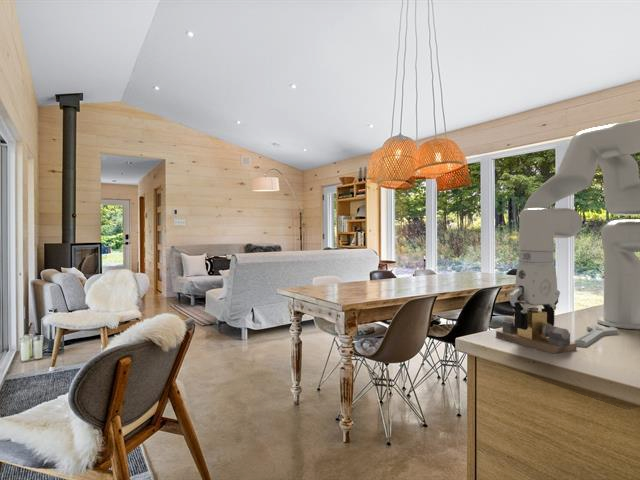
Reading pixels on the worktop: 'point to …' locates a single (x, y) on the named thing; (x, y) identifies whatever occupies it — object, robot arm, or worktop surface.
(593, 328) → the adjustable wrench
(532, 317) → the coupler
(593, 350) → the worktop surface
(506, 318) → the shaft stand
